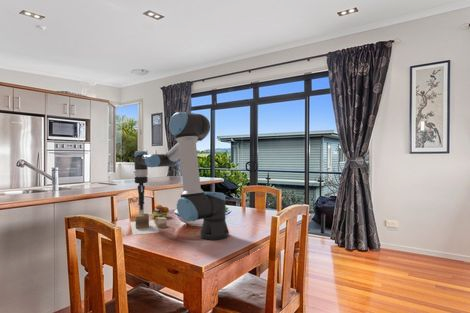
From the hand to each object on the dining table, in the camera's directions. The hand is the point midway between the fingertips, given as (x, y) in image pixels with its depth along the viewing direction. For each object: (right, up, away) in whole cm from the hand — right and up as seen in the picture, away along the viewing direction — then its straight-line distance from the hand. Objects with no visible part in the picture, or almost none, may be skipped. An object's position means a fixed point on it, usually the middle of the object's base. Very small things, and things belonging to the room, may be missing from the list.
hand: (141, 215), depth 182 cm
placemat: (+3, -6, -6) cm, 9 cm away
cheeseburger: (+6, -6, +20) cm, 21 cm away
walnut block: (+1, -2, -3) cm, 4 cm away
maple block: (+13, -6, -5) cm, 15 cm away
